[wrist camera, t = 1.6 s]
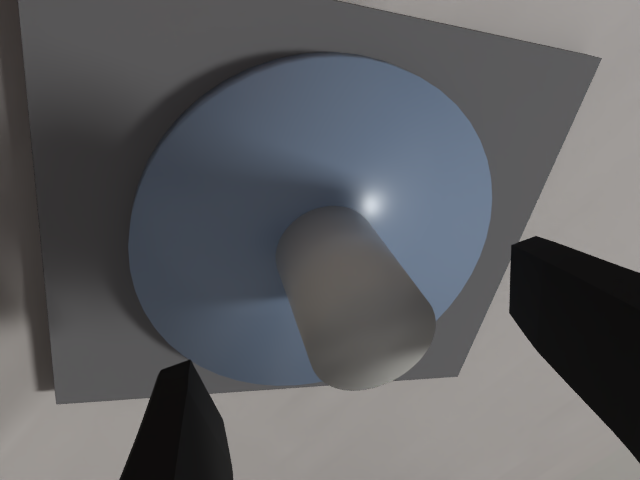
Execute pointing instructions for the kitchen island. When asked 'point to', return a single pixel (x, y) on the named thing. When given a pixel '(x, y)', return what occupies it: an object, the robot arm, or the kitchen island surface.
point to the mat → (196, 80)
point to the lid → (310, 222)
